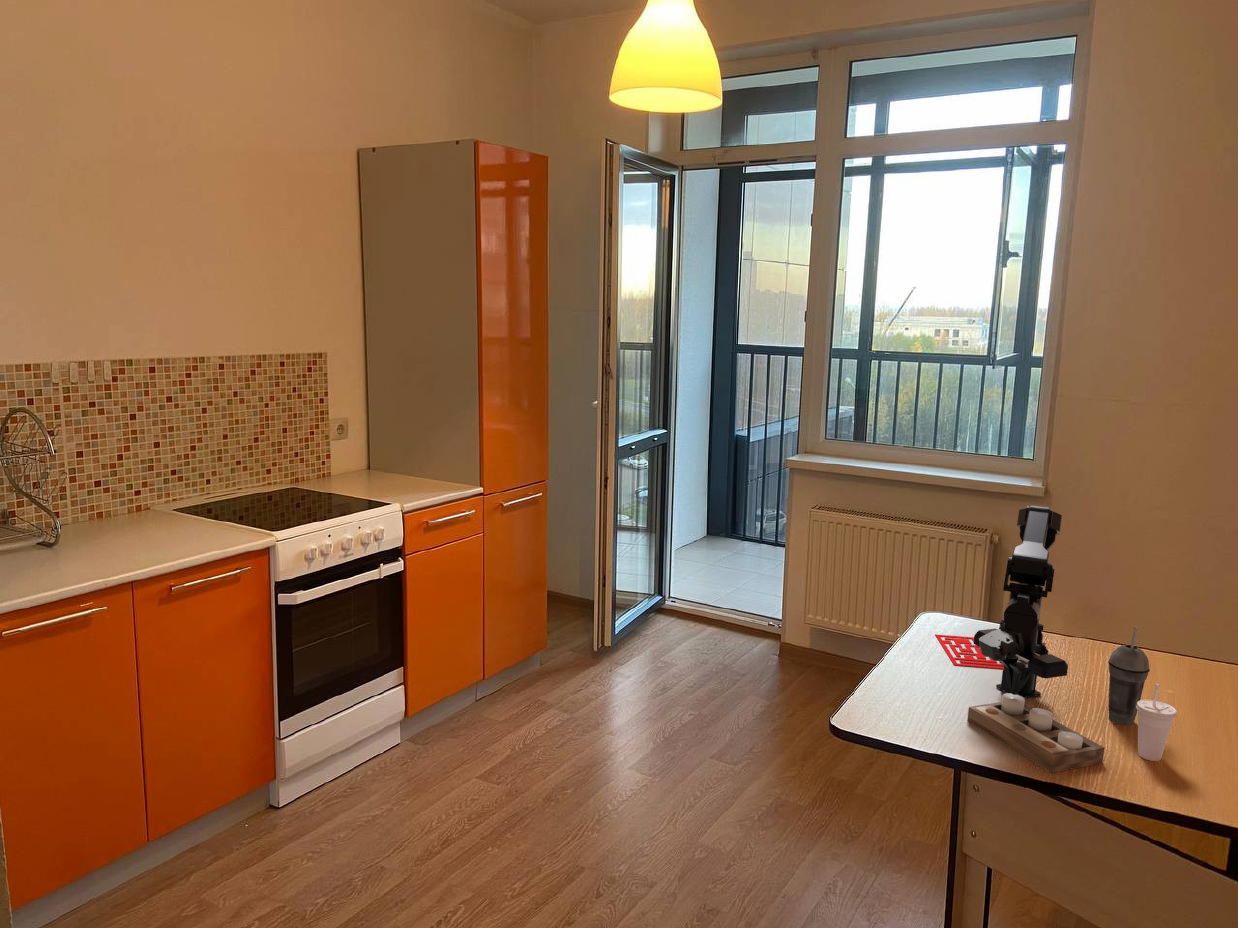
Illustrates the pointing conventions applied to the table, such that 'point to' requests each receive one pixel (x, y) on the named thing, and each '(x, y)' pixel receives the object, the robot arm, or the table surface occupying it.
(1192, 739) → the table surface
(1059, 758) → the button board
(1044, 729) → the button middle
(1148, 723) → the smoothie
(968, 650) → the maze puzzle
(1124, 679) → the beverage cup
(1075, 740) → the button
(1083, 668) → the table surface
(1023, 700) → the button
